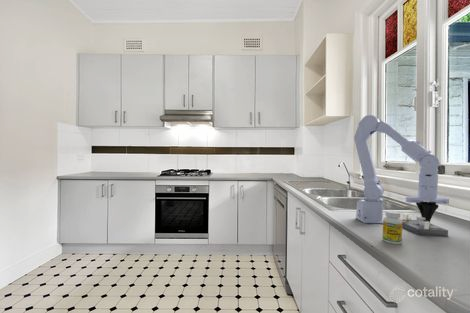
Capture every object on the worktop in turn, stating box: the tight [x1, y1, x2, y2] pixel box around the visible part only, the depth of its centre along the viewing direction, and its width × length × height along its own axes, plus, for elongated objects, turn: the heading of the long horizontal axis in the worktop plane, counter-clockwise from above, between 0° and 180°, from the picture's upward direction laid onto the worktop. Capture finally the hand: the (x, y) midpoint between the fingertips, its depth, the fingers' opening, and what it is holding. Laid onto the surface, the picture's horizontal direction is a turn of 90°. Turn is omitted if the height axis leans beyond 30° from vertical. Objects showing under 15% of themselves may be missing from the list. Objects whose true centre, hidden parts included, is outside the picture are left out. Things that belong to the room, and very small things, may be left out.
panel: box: [401, 212, 449, 237], centre depth 96 cm, size 10×13×5 cm
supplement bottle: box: [382, 210, 403, 245], centre depth 82 cm, size 5×5×10 cm
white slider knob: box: [415, 215, 425, 224], centre depth 96 cm, size 2×2×2 cm, turn 177°
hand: (426, 222), depth 96 cm, fingers closed
